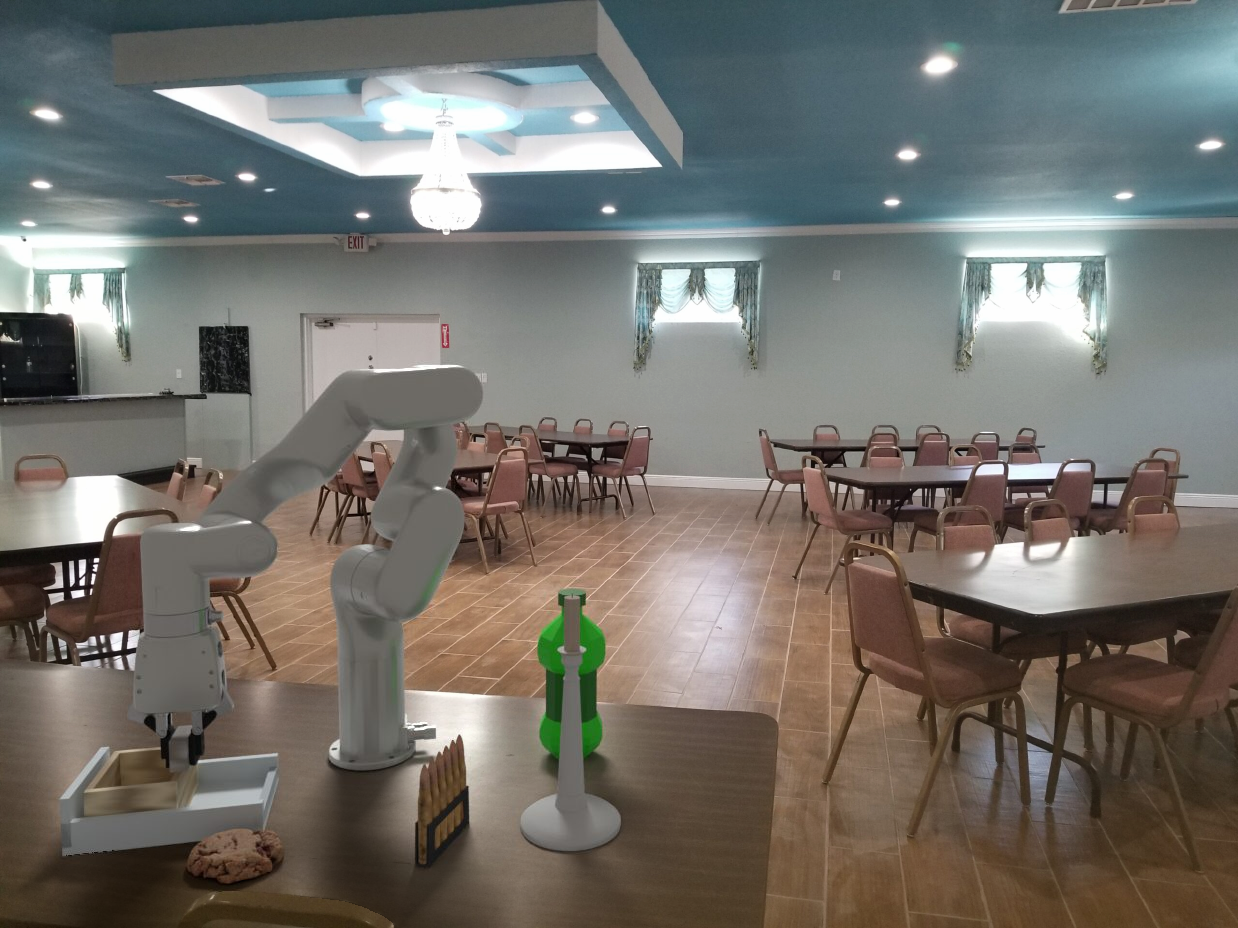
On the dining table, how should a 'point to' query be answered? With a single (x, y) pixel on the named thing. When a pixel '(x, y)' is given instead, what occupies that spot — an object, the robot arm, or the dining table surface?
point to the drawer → (144, 780)
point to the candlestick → (571, 768)
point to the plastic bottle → (555, 673)
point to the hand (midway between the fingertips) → (183, 761)
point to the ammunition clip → (441, 804)
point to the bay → (219, 804)
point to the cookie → (236, 855)
